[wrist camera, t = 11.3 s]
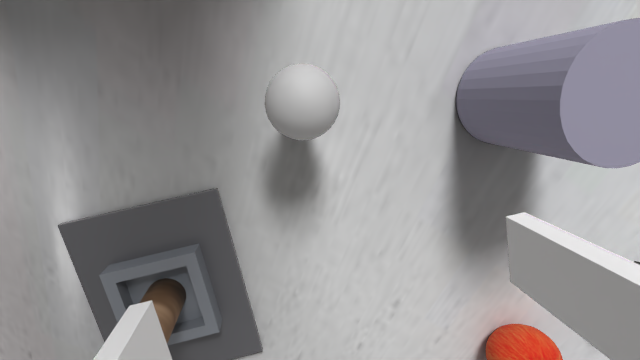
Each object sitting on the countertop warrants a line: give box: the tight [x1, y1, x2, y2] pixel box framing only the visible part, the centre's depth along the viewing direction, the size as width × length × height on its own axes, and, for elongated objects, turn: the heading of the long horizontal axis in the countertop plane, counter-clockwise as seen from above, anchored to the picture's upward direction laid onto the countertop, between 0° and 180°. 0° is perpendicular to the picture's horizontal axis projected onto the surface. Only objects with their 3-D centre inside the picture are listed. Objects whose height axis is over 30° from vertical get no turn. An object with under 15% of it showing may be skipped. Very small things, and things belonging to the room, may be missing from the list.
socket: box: [58, 188, 263, 360], centre depth 39 cm, size 20×16×3 cm
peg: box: [139, 278, 186, 343], centre depth 34 cm, size 4×4×10 cm
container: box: [456, 18, 640, 168], centre depth 33 cm, size 10×10×15 cm
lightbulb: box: [265, 63, 340, 140], centre depth 32 cm, size 6×6×11 cm
